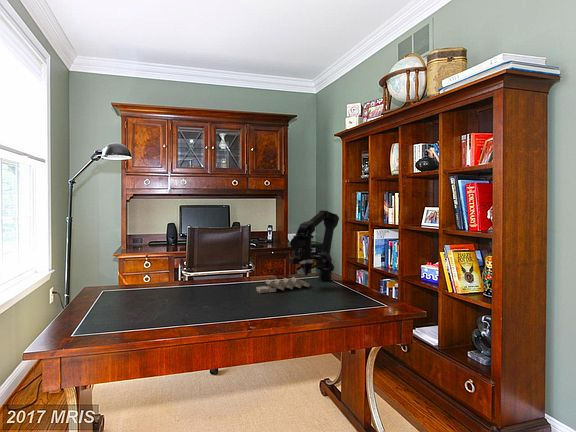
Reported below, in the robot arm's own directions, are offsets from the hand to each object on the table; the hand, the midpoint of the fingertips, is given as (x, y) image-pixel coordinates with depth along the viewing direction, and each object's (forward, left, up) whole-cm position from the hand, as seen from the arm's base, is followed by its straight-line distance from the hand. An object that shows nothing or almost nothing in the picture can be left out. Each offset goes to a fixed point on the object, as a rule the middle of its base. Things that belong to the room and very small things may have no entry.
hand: (305, 275), depth 209 cm
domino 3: (+9, 0, -5) cm, 10 cm away
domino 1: (+19, 0, -5) cm, 19 cm away
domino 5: (-1, 0, -5) cm, 5 cm away
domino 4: (+4, 0, -5) cm, 7 cm away
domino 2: (+14, 0, -5) cm, 15 cm away
